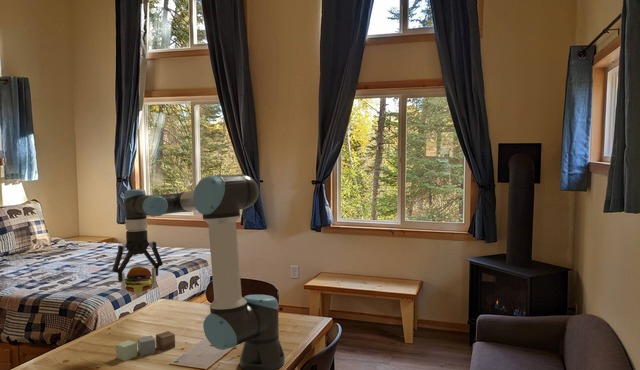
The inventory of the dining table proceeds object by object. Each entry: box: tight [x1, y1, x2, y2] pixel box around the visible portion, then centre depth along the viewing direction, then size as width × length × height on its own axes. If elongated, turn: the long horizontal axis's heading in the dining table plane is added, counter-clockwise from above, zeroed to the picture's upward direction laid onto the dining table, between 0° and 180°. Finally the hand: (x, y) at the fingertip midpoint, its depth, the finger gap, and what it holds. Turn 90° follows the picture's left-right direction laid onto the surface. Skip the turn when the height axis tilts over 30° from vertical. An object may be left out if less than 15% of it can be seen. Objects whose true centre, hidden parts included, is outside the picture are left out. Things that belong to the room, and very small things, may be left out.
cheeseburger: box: [125, 266, 153, 294], centre depth 184 cm, size 10×11×10 cm
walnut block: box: [155, 331, 176, 352], centre depth 181 cm, size 5×5×5 cm
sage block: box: [115, 339, 138, 362], centre depth 172 cm, size 5×5×5 cm
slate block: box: [137, 335, 156, 356], centre depth 177 cm, size 5×5×5 cm
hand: (139, 287), depth 184 cm, fingers closed on cheeseburger, 11 cm apart
